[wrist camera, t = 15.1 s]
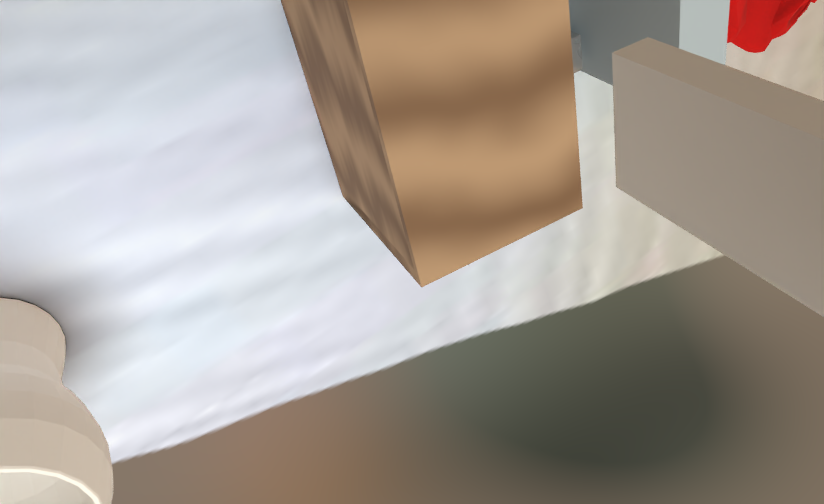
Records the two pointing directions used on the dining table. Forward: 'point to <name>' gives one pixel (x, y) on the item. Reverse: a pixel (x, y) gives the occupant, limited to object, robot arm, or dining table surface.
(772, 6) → the cloth
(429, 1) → the cabinet
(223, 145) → the dining table surface
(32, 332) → the cup
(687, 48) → the door
